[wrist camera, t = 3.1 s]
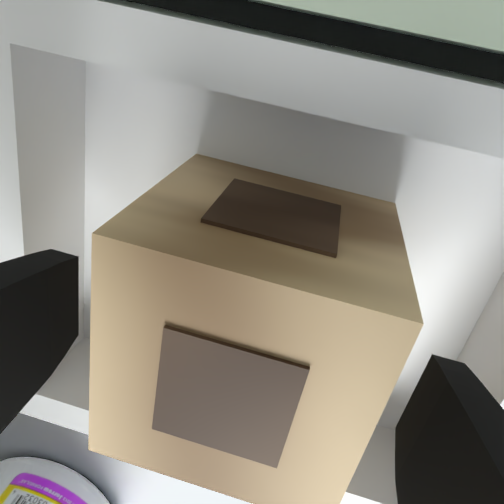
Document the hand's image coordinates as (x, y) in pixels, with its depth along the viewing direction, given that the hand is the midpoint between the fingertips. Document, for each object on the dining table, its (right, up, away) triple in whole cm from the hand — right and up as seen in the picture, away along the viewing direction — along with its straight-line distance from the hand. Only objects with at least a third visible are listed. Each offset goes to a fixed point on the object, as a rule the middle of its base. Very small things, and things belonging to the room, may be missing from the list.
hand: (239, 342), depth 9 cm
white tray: (+1, +2, +3) cm, 4 cm away
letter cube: (+1, +2, +3) cm, 4 cm away
